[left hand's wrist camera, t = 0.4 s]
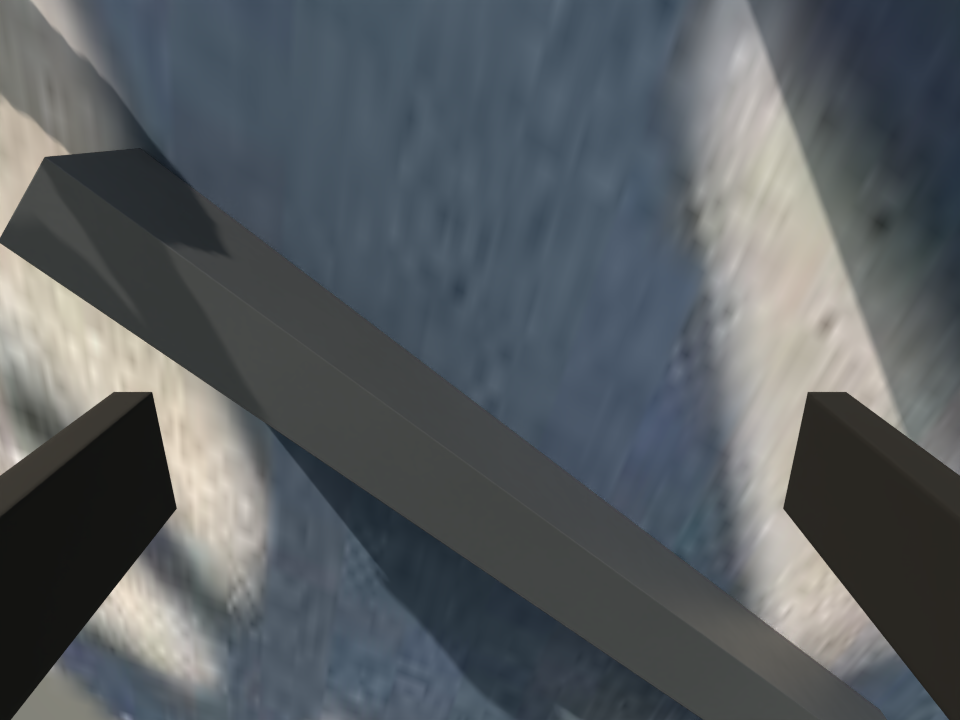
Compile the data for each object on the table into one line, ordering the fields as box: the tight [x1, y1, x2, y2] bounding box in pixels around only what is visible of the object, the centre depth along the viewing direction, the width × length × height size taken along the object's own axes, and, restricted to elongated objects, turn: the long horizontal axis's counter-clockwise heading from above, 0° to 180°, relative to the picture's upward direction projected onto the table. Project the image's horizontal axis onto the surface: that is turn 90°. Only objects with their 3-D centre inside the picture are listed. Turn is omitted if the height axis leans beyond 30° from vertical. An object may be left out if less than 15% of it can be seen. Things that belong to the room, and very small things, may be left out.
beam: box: [0, 148, 887, 720], centre depth 40 cm, size 69×5×8 cm, turn 50°
